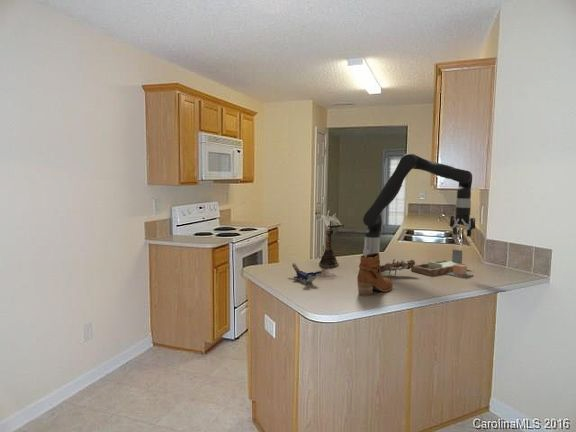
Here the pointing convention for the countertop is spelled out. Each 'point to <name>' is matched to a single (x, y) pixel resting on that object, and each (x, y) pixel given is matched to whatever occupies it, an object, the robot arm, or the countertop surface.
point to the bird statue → (329, 241)
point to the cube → (459, 269)
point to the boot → (371, 276)
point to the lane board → (431, 269)
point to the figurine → (397, 266)
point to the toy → (305, 275)
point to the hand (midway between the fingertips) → (461, 235)
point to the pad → (459, 275)
